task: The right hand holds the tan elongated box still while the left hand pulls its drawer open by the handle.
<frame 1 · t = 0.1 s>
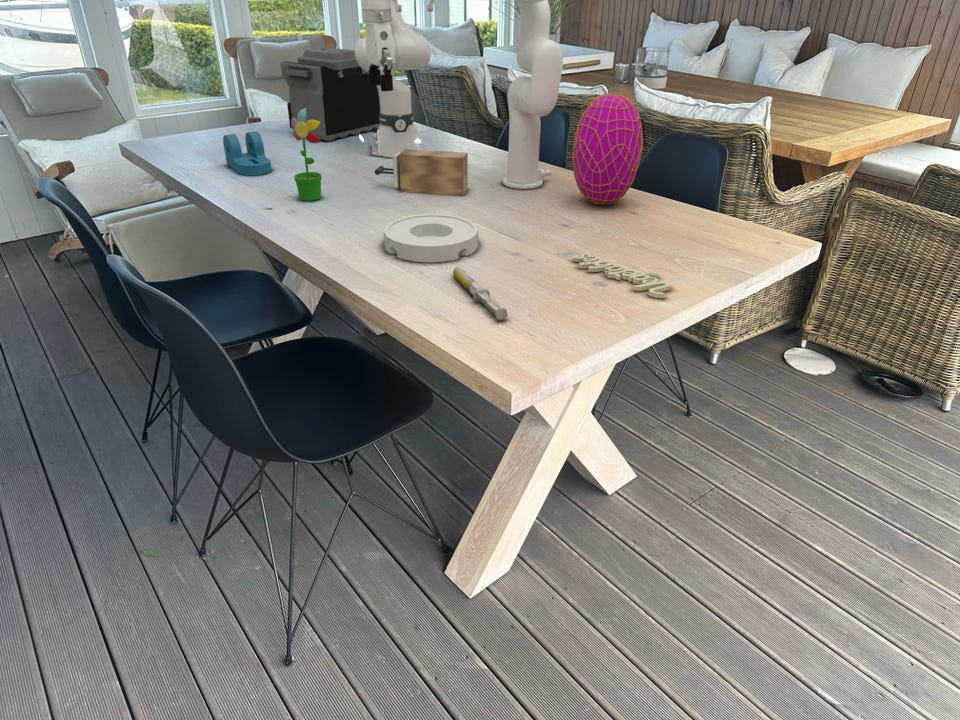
left hand: (414, 11, 200), 48 cm above the table, tool pointing down, fingers open, 8 cm apart
right hand: (381, 88, 185), 31 cm above the table, tool pointing down, fingers open, 9 cm apart
tan elongated box: (434, 190, 210), on the table
drawer: (415, 170, 209), point 6 cm above the table, slide at 1.0 cm
camera mount: (251, 168, 229), on the table
decorative sign: (623, 275, 156), on the table
potted flower: (309, 198, 202), on the table
electronic device: (338, 131, 279), on the table
syringe: (478, 297, 145), on the table
ashtray: (431, 245, 171), on the table
decorative egg: (601, 203, 201), on the table
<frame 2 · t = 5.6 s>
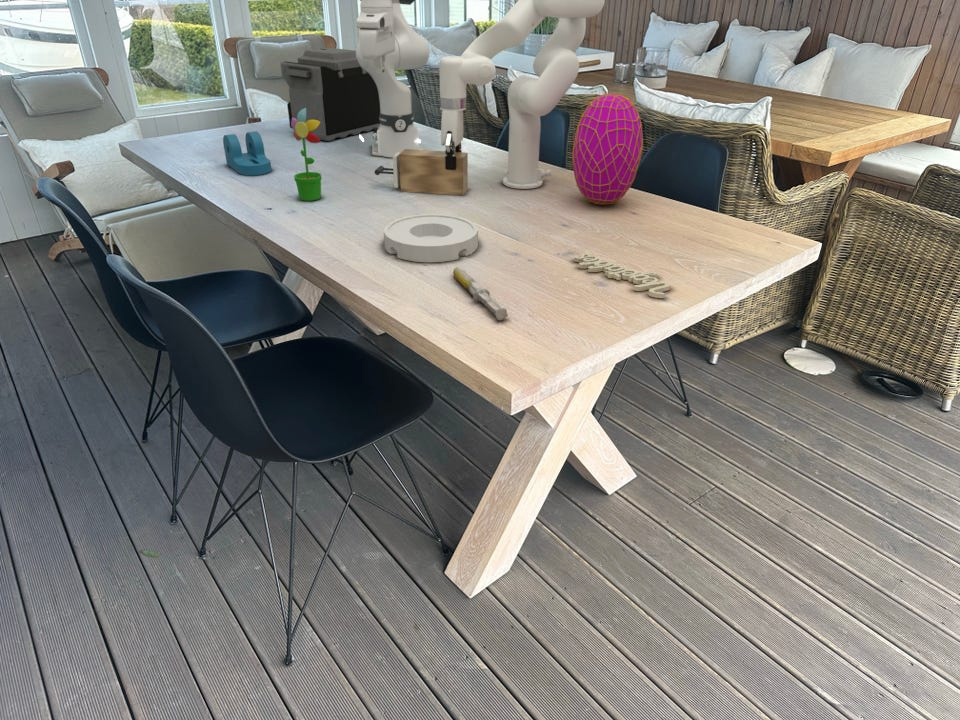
left hand: (380, 72, 196), 33 cm above the table, tool pointing down, fingers closed
right hand: (453, 165, 205), 8 cm above the table, tool pointing down, fingers closed on tan elongated box, 6 cm apart
tan elongated box: (434, 190, 211), on the table, touching right hand
everything else where it was.
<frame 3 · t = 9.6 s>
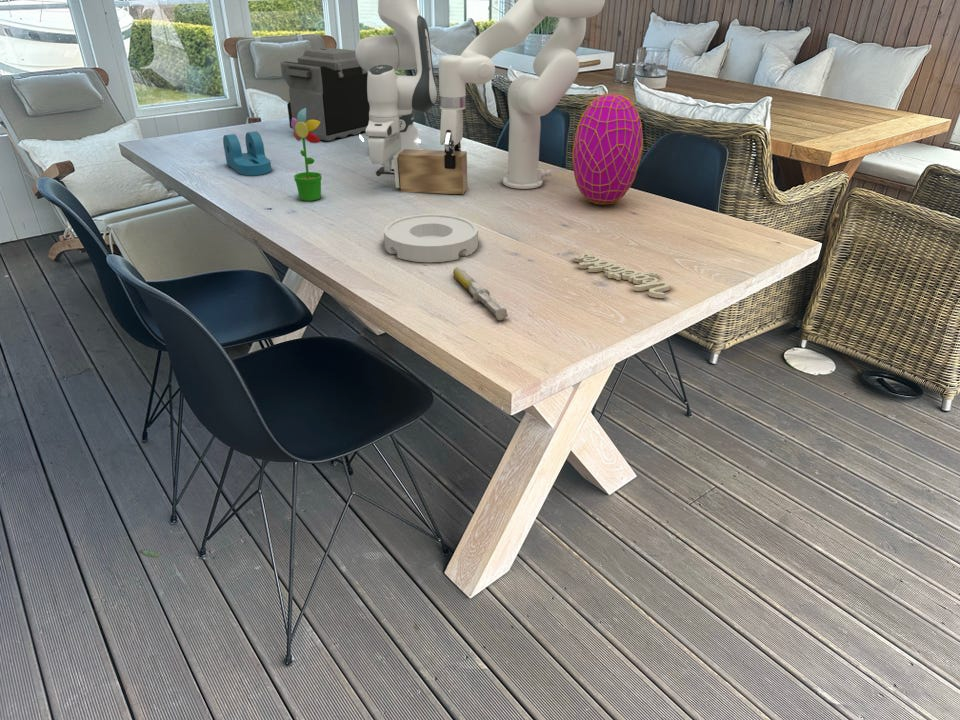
left hand: (387, 172, 210), 5 cm above the table, tool pointing down, fingers closed, pressing on drawer
right hand: (452, 164, 205), 8 cm above the table, tool pointing down, fingers closed on tan elongated box, 6 cm apart
tan elongated box: (434, 189, 210), on the table, touching right hand
drawer: (416, 170, 209), point 6 cm above the table, slide at 0.5 cm, touching left hand
everything else where it was.
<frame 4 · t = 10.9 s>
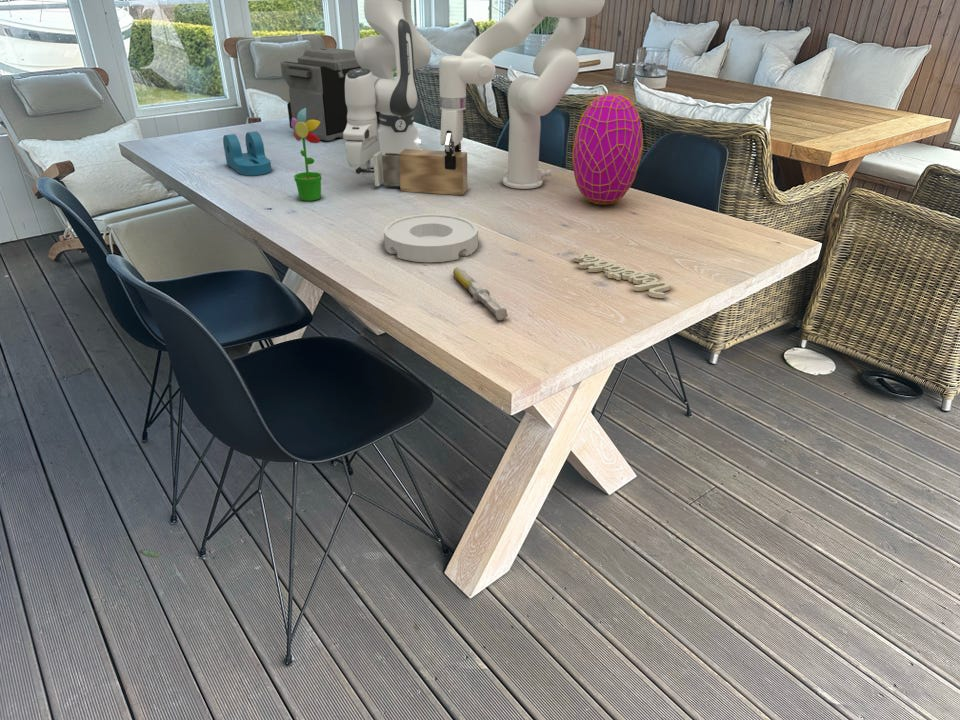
left hand: (366, 174, 212), 4 cm above the table, tool pointing down, fingers closed, pressing on drawer
right hand: (453, 165, 205), 8 cm above the table, tool pointing down, fingers closed on tan elongated box, 6 cm apart
tan elongated box: (434, 190, 210), on the table, touching right hand
drawer: (395, 169, 210), point 6 cm above the table, slide at 7.1 cm, touching left hand
everything else where it was.
when the right hand's fingers open (8 cm above the table, at t = 12.5 s): tan elongated box stays where it is, on the table.
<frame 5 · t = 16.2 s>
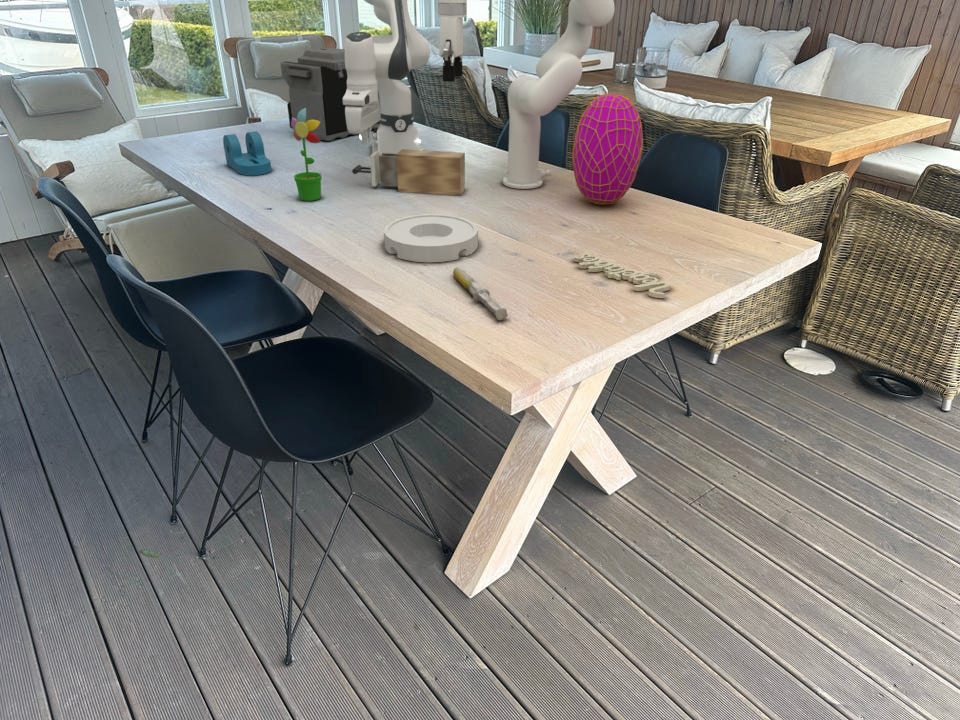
left hand: (366, 142, 207), 13 cm above the table, tool pointing down, fingers closed
right hand: (452, 78, 193), 32 cm above the table, tool pointing down, fingers open, 9 cm apart
tan elongated box: (431, 190, 210), on the table
drawer: (392, 169, 209), point 6 cm above the table, slide at 7.2 cm
everything else where it was.
at the end: drawer slide at 7.2 cm; tan elongated box tilted 0°; tan elongated box never tilted more than 4° during the clip; tan elongated box moved 0.9 cm from its start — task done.
